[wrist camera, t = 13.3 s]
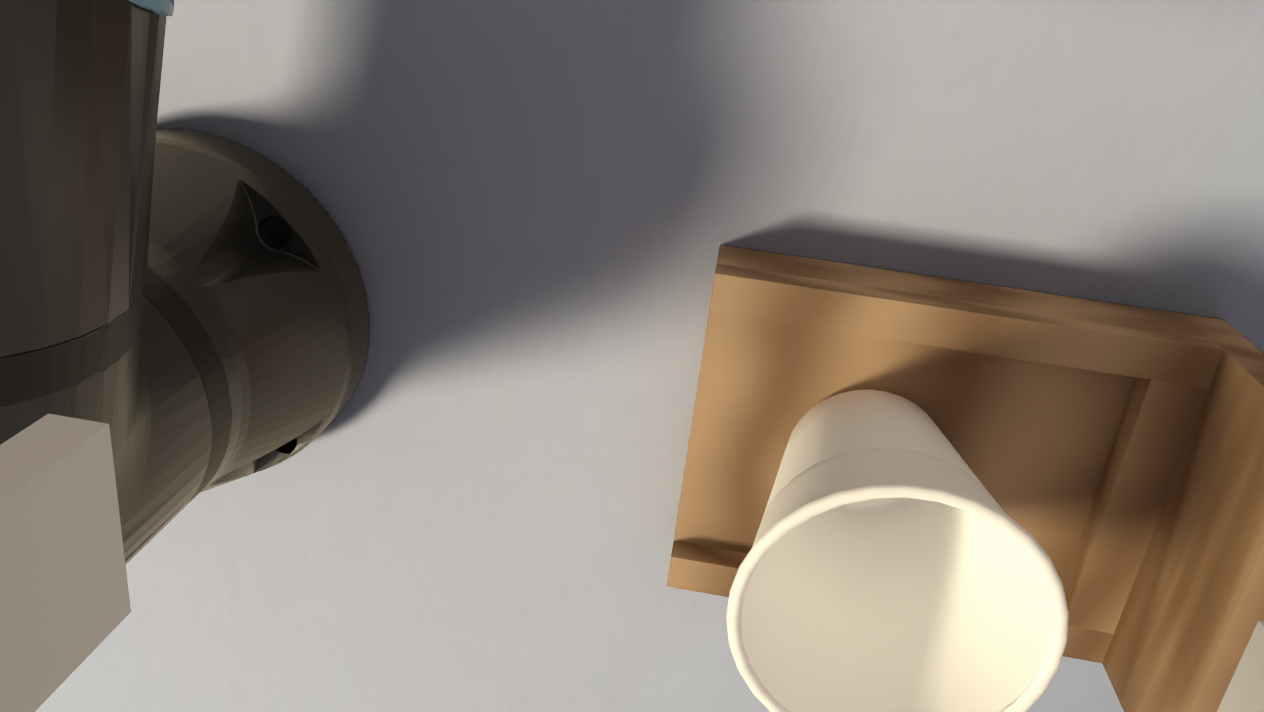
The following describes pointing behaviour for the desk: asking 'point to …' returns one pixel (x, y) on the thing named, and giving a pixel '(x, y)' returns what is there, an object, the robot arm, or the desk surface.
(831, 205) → the desk surface
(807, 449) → the cup
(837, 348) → the bracket shelf
